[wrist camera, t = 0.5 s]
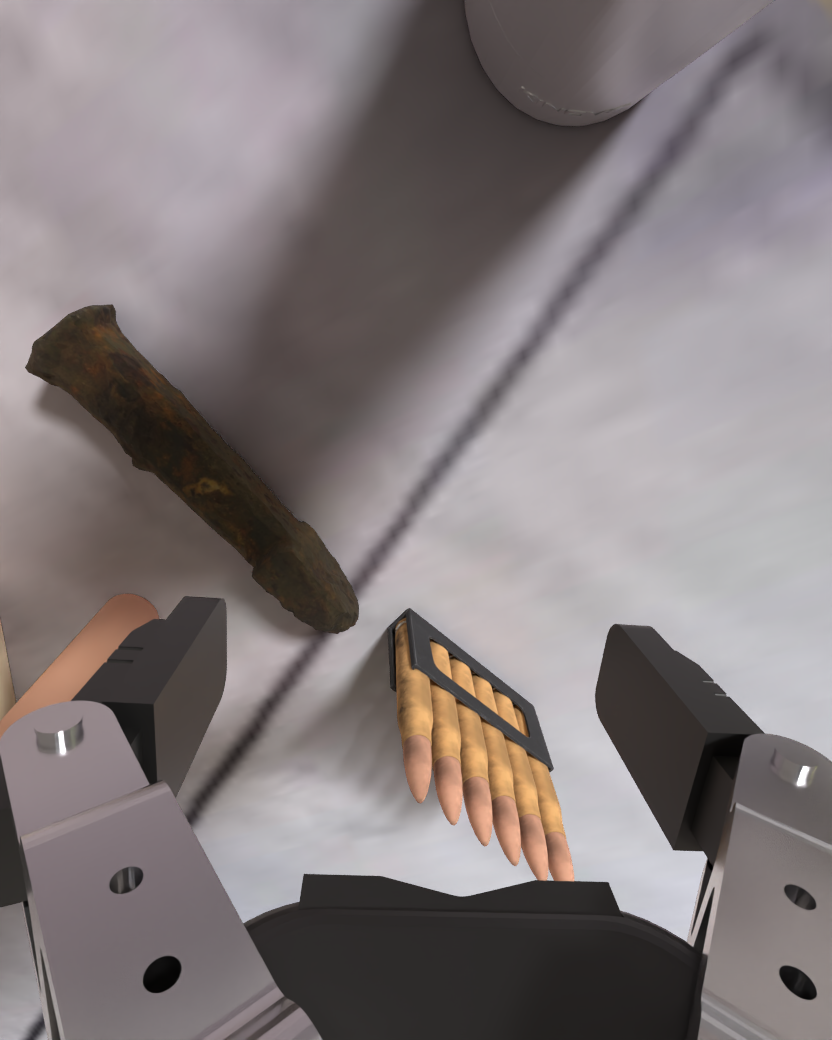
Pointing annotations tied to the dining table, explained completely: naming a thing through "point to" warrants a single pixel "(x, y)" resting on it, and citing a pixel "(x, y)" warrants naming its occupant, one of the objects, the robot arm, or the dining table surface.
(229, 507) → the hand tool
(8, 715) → the peg
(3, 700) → the hole block
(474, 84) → the dining table surface
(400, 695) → the ammunition clip
